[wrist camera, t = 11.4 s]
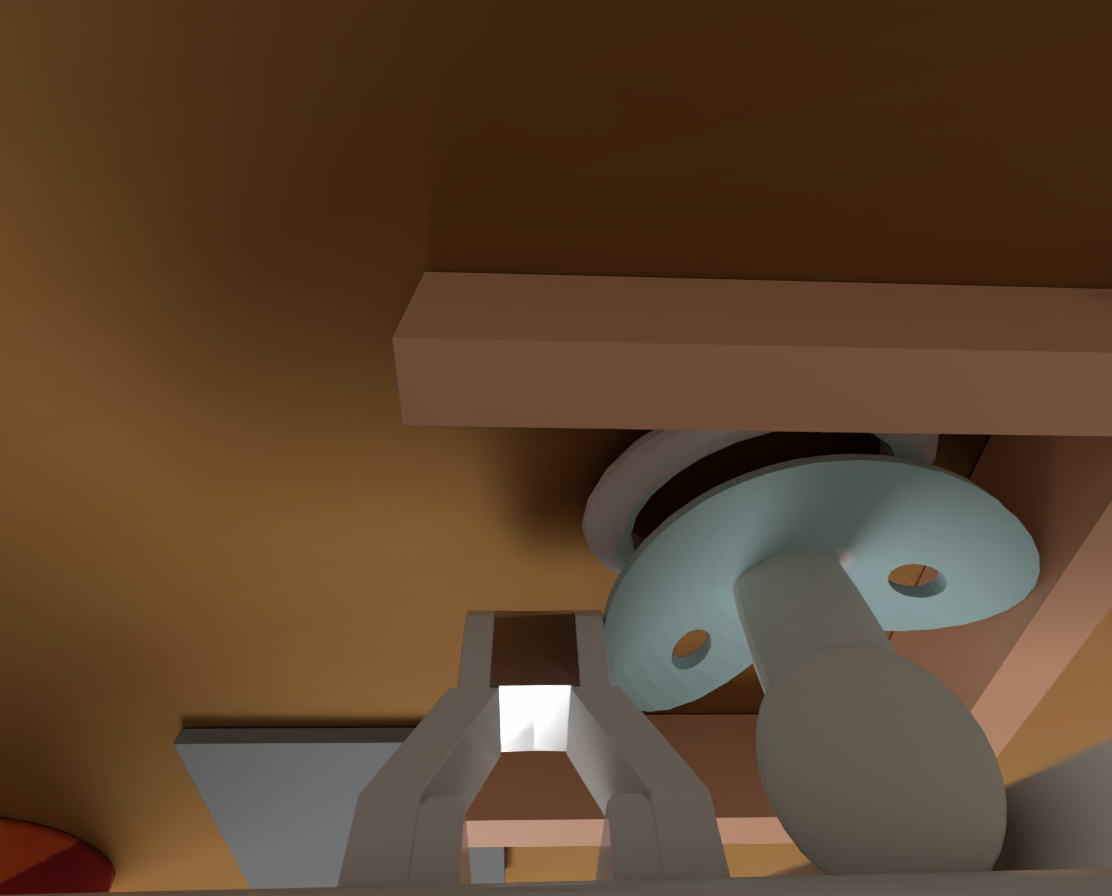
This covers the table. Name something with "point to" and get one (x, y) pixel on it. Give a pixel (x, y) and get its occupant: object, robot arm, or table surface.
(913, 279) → the table surface
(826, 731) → the pacifier
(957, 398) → the pink u-shaped bracket
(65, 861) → the paper cup
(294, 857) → the gray tile
